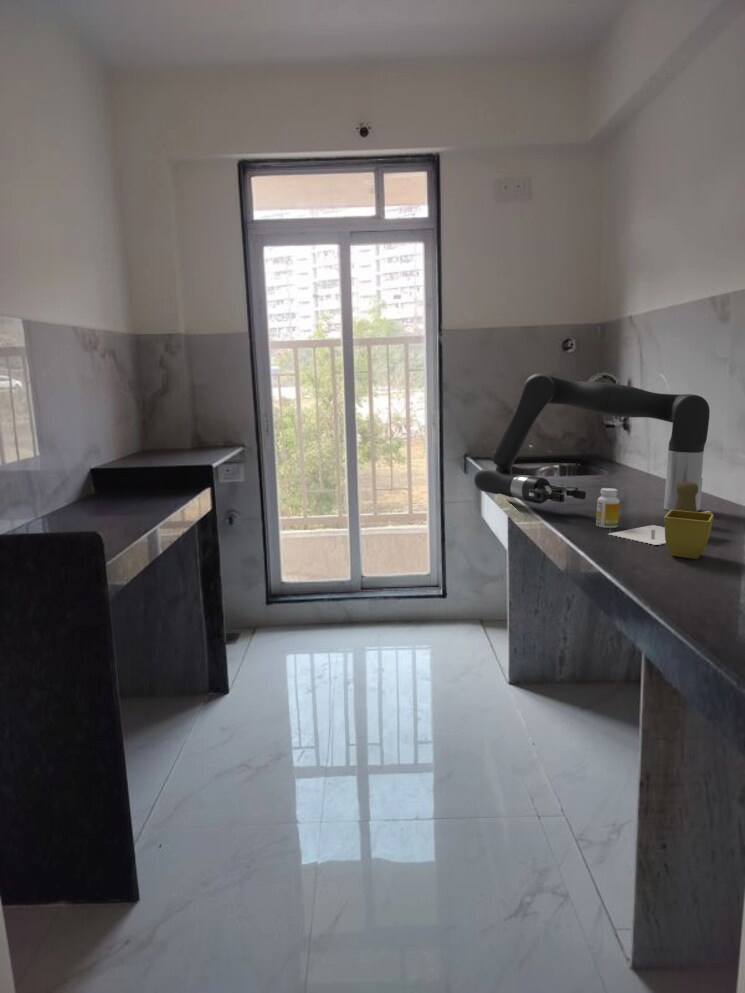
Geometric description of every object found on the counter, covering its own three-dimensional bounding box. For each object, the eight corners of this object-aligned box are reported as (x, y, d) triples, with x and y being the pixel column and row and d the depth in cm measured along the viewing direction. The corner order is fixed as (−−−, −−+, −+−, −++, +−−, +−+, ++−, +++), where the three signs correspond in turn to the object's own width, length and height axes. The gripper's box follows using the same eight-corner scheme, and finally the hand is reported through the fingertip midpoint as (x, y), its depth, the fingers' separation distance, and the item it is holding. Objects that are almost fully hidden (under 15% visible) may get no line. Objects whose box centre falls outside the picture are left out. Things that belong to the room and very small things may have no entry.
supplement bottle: (621, 526, 170) (624, 489, 168) (611, 529, 166) (614, 491, 164) (601, 523, 174) (604, 486, 172) (592, 526, 170) (594, 489, 168)
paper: (652, 526, 170) (652, 524, 170) (700, 535, 159) (700, 534, 159) (608, 534, 160) (608, 533, 160) (655, 546, 149) (656, 544, 149)
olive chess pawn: (699, 526, 170) (703, 484, 168) (674, 525, 171) (678, 483, 169) (693, 521, 175) (697, 480, 174) (669, 520, 177) (672, 480, 175)
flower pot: (706, 563, 135) (710, 521, 134) (660, 557, 140) (664, 516, 138) (710, 554, 143) (714, 513, 141) (667, 548, 147) (670, 509, 146)
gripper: (512, 478, 187) (557, 485, 173) (547, 474, 194) (592, 481, 181) (511, 503, 188) (555, 513, 175) (546, 499, 196) (590, 507, 182)
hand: (574, 497), depth 178 cm, fingers open, 8 cm apart
